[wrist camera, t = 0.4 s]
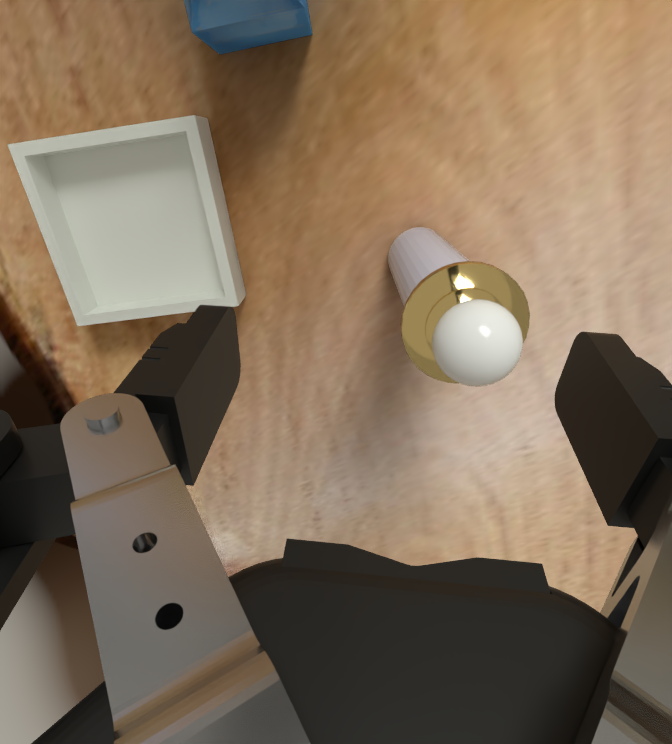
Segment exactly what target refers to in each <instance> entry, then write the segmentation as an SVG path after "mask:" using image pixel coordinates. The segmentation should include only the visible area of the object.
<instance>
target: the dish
mask: <svg viewBox="0 0 672 744" xmlns="http://www.w3.org/2000/svg"><path fill="white" fill-rule="evenodd" d="M8 147H9V150H10V152H11V155H12V158H13V160H14V163H15V165H16V168H17V171H18V173H19V176H20V178H21V181H22V183H23V186H24V189H25V191H26V194H27V196H28V199H29V202H30V204H31V207H32V209H33V212H34V214H35V217H36V220H37V222H38V225H39V227H40V230H41V233H42V235H43V238H44V240H45V243H46V246H47V248H48V251H49V253H50V256H51V258H52V261H53V264H54V266H55V269H56V271H57V274H58V277H59V279H60V282H61V284H62V287H63V290H64V292H65V295H66V297H67V300H68V302H69V305H70V308H71V310H72V313H73V315H74V318H75V321H76V323H77V326H84V325H92V324H100V323H107V322H115V321H123V320H131V319H139V318H147V317H155V316H163V315H171V314H179V313H187V312H195V310H196V309H197V308H198V306H199V305H215V306H229V307H235V306H239V305H240V303H241V302H242V300H243V299H244V298H245V296H246V291H245V286H244V282H243V277H242V273H241V268H240V264H239V259H238V255H237V250H236V245H235V241H234V236H233V232H232V227H231V223H230V218H229V214H228V209H227V205H226V200H225V195H224V191H223V186H222V182H221V177H220V173H219V168H218V164H217V159H216V155H215V150H214V145H213V141H212V136H211V132H210V127H209V123H208V118H205V117H201V116H197V115H191V116H185V117H179V118H172V119H166V120H160V121H153V122H147V123H141V124H134V125H128V126H122V127H115V128H109V129H103V130H96V131H90V132H84V133H77V134H71V135H65V136H58V137H52V138H46V139H39V140H33V141H27V142H20V143H14V144H8Z"/></svg>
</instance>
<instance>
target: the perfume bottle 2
mask: <svg viewBox="0 0 672 744" xmlns="http://www.w3.org/2000/svg"><path fill="white" fill-rule="evenodd" d="M388 265H389V269H390V272H391V275H392V277H393V280H394V283H395V285H396V288H397V291H398V293H399V296H400V299H401V301H402V304H403V307H404V309H403V312H402V318H401V336H402V339H403V343H404V346H405V349H406V352H407V353H408V355H409V357H410V359H411V361H412V362H413V363H414V364H415V365H416V366H417V367H418V368H419V369H420V370H421V371H422V372H424V373H425V374H426V375H428V376H430V377H432V378H434V379H437V380H440V381H444V382H448V383H460V384H463V385H467V386H475V387H479V386H487V385H491V384H494V383H496V382H498V381H500V380H502V379H503V378H505V377H506V376H507V375H508V374H509V373H511V372H512V370H513V369H514V368H515V366H516V365H517V363H518V361H519V359H520V357H521V353H522V349H523V343H524V341H525V338H526V336H527V332H528V328H529V317H530V313H529V307H528V302H527V299H526V297H525V295H524V292H523V290H522V289H521V288H520V286H519V285H518V284H517V282H516V281H515V280H514V279H512V278H511V277H510V276H509V275H508V274H507V273H505V272H504V271H502V270H500V269H499V268H497V267H495V266H493V265H490V264H486V263H483V262H475V261H469V260H468V259H467V258H466V257H465V256H463V255H462V254H461V253H460V252H459V251H458V250H457V249H455V248H454V247H453V246H452V245H451V244H450V243H449V242H447V241H446V240H445V239H444V238H443V237H442V236H441V235H439V234H438V233H437V232H435V231H434V230H432V229H429V228H424V227H417V228H412V229H409V230H407V231H405V232H403V233H402V234H400V235H399V236H398V237H397V238H396V239H395V241H394V242H393V244H392V246H391V247H390V251H389V255H388Z"/></svg>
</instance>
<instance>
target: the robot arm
mask: <svg viewBox="0 0 672 744" xmlns="http://www.w3.org/2000/svg"><path fill="white" fill-rule="evenodd" d="M240 367H241V365H240V353H239V344H238V334H237V325H236V316H235V312H234V309H233V308H232V307H229V306H215V305H199V306H198V308H197V309H196V310H195V312H194V313H193V315H192V316H191V317H190V319H189V320H188V321H187V323H186V324H182V323H177V324H175V325H174V326H172V327H171V328H169V329H167V330H166V331H164V332H162V333H161V334H160V335H159V336H158V337H157V339H156V340H155V341H154V342H153V344H152V345H151V346H150V349H148V350H147V351H146V353H145V354H144V355H143V356H142V360H139V361H138V363H137V364H136V365H135V366H134V368H133V369H132V370H131V372H130V373H129V374H128V375H127V377H126V378H125V379H124V380H123V382H122V383H121V384H120V386H119V387H118V388H117V389H116V391H115V392H114V393H111V394H104V395H99V396H96V397H93V398H90V399H87V400H85V401H83V402H81V403H79V404H77V405H76V406H75V407H73V408H72V409H71V410H70V411H69V412H67V414H66V415H65V416H64V417H63V419H62V421H61V423H60V424H54V425H47V426H40V427H32V428H24V429H16V427H15V425H14V423H13V421H12V419H11V417H10V415H9V414H8V413H6V412H5V411H3V410H0V630H1V628H2V627H3V625H4V623H5V622H6V620H7V618H8V617H9V615H10V613H11V612H12V610H13V608H14V607H15V605H16V603H17V602H18V600H19V598H20V597H21V595H22V593H23V592H24V590H25V588H26V587H27V585H28V583H29V582H30V580H31V578H32V577H33V575H34V573H35V572H36V570H37V568H38V567H39V565H40V563H41V562H42V560H43V558H44V557H45V555H46V554H47V552H48V550H49V549H50V547H51V545H52V544H53V542H54V540H55V539H56V538H58V537H64V536H69V535H74V534H76V538H77V543H78V548H79V553H80V558H81V563H82V567H83V573H84V578H85V583H86V587H87V593H88V598H89V602H90V607H91V612H92V618H93V622H94V628H95V633H96V637H97V642H98V647H99V652H100V657H101V662H102V667H103V672H104V677H105V681H104V682H103V683H101V684H100V685H99V686H98V687H97V688H96V689H95V690H94V691H92V692H91V693H90V694H89V695H88V696H86V697H85V698H84V699H83V700H82V701H80V702H79V703H78V704H77V705H76V706H75V707H73V708H72V709H71V710H70V711H69V712H68V713H67V714H65V715H64V716H63V717H62V718H61V719H59V720H58V721H57V722H56V723H55V724H54V725H52V726H51V727H50V728H49V729H48V730H47V731H46V732H44V733H43V734H42V735H41V736H40V737H38V738H37V739H36V740H35V741H34V742H33V743H32V744H672V385H671V383H670V382H669V381H668V380H667V379H666V377H665V376H664V375H663V374H662V373H661V371H659V370H658V369H656V368H655V367H653V366H652V365H650V364H649V363H647V362H646V361H645V360H643V359H642V358H640V357H636V356H635V354H634V353H633V352H632V351H631V349H630V348H629V347H628V345H627V344H626V343H625V342H624V340H623V339H622V338H621V337H620V336H619V335H617V334H607V333H592V332H581V333H579V334H578V335H577V336H576V338H575V340H574V342H573V345H572V347H571V350H570V353H569V355H568V358H567V361H566V363H565V366H564V369H563V371H562V374H561V377H560V379H559V382H558V385H557V388H556V392H555V408H556V412H557V415H558V417H559V419H560V421H561V423H562V426H563V428H564V430H565V432H566V434H567V437H568V439H569V441H570V443H571V445H572V448H573V450H574V452H575V454H576V456H577V459H578V461H579V463H580V465H581V467H582V470H583V472H584V474H585V476H586V478H587V481H588V483H589V485H590V487H591V489H592V492H593V494H594V496H595V498H596V500H597V503H598V505H599V507H600V509H601V511H602V514H603V516H604V518H605V520H606V522H607V525H608V526H618V527H629V528H634V529H635V531H636V533H637V537H636V539H635V540H634V542H633V543H632V545H631V546H630V548H629V551H628V553H627V555H626V557H625V559H624V562H623V564H622V566H621V568H620V570H619V573H618V575H617V577H616V579H615V581H614V584H613V586H612V588H611V590H610V592H609V595H608V597H607V599H606V601H605V603H604V606H603V608H602V610H601V612H600V613H599V612H598V611H596V610H595V609H593V608H592V607H590V606H589V605H587V604H586V603H584V602H582V601H580V600H578V599H577V598H575V597H573V596H571V595H569V594H567V593H564V592H562V591H560V590H558V589H556V588H553V587H550V586H548V583H547V579H546V576H545V573H544V569H543V566H542V564H539V563H529V562H518V561H508V560H498V559H488V558H471V559H464V560H457V561H450V562H443V563H436V564H429V565H422V566H410V565H406V564H403V563H400V562H398V561H395V560H392V559H389V558H386V557H383V556H380V555H377V554H374V553H371V552H368V551H365V550H362V549H359V548H356V547H353V546H350V545H346V544H336V543H325V542H315V541H305V540H295V539H287V541H286V546H285V551H284V556H283V558H281V559H274V560H270V561H266V562H262V563H258V564H256V565H253V566H251V567H248V568H246V569H243V570H241V571H239V572H238V573H236V574H234V575H232V576H230V577H228V576H227V574H226V572H225V570H224V567H223V565H222V563H221V561H220V559H219V557H218V555H217V552H216V550H215V548H214V546H213V544H212V542H211V539H210V537H209V535H208V533H207V531H206V529H205V526H204V524H203V522H202V520H201V518H200V516H199V513H198V511H197V509H196V507H195V505H194V503H193V500H192V498H191V496H190V494H189V492H188V490H187V488H186V485H194V483H195V481H196V479H197V476H198V474H199V472H200V470H201V467H202V465H203V463H204V461H205V458H206V456H207V454H208V452H209V449H210V447H211V445H212V443H213V440H214V438H215V436H216V433H217V431H218V429H219V427H220V424H221V422H222V420H223V418H224V415H225V413H226V411H227V409H228V406H229V404H230V402H231V400H232V397H233V395H234V393H235V391H236V388H237V386H238V383H239V378H240Z"/></svg>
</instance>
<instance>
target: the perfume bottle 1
mask: <svg viewBox="0 0 672 744" xmlns="http://www.w3.org/2000/svg"><path fill="white" fill-rule="evenodd" d="M184 3H185V7H186V11H187V15H188V19H189V23H190V27H191V31H192V33H193V34H195V35H196V36H197V37H198V38H200V39H201V40H202V41H204V42H205V43H206V44H207V45H209V46H210V47H211V48H212V49H214V50H215V51H216V52H217V53H219V54H224V53H229V52H234V51H238V50H243V49H248V48H252V47H257V46H262V45H267V44H271V43H276V42H281V41H285V40H290V39H295V38H300V37H304V36H309V35H312V29H311V23H310V16H309V10H308V4H307V0H184Z"/></svg>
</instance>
